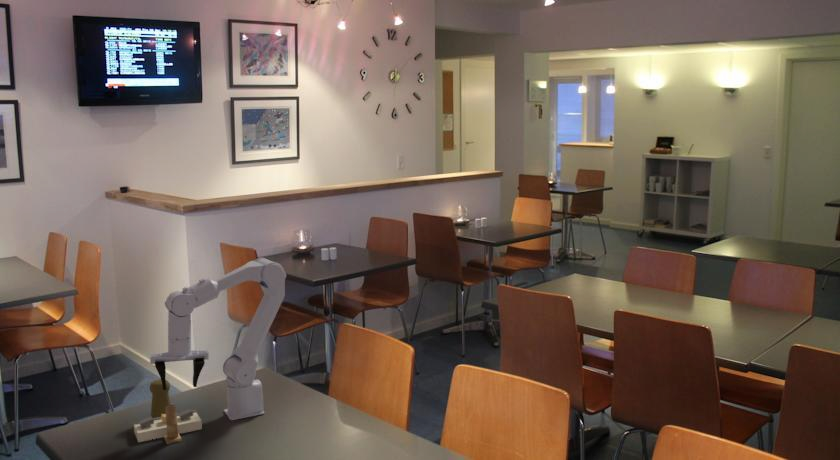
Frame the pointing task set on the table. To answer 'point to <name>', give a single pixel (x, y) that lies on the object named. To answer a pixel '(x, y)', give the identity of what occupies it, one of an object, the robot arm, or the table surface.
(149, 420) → the rocker
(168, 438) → the oak post
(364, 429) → the table surface
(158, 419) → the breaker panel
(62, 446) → the table surface
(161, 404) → the cork
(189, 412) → the rocker
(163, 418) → the rocker
